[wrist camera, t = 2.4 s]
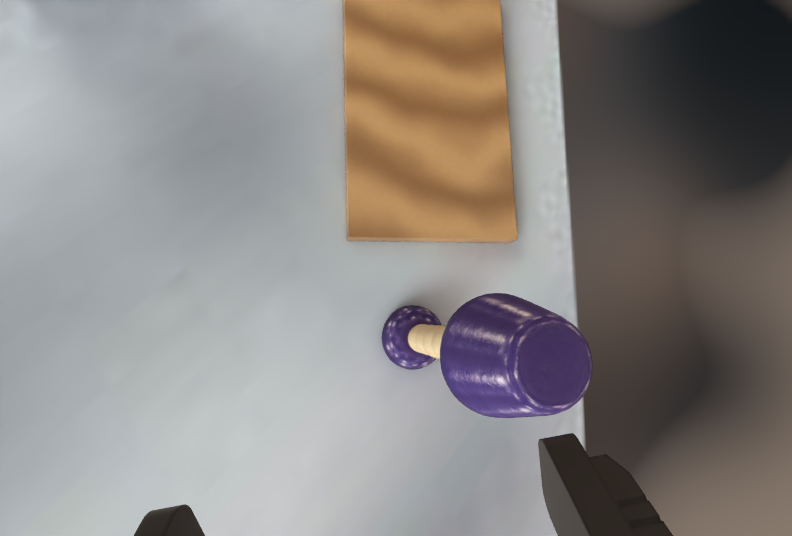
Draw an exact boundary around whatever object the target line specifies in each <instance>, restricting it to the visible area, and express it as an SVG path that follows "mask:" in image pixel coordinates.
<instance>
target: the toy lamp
mask: <svg viewBox="0 0 792 536" xmlns="http://www.w3.org/2000/svg"><path fill="white" fill-rule="evenodd" d="M382 343H383V347H384V350H385V352H386V354H387V356H388V357H389V359H390V360H391V361H392V362H394V363H395V364H396V365H398V366H400V367H403V368H406V369H420V368H423V367H426V366H428V365H429V364H431V363H432V362H433V361H434V360H435V359H436V358H439V359H440V362H441V369H442V373H443V376H444V379H445V381H446V383H447V385H448V387H449V388H450V390H451V392H452V393H453V395H454V396H455V397H456V398H457V399H458V400H459V401H460V402H461V403H462V404H464V405H465V406H466V407H468V408H469V409H471V410H473V411H475V412H477V413H479V414H482V415H485V416H489V417H497V418H516V417H534V416H547V415H554V414H557V413H560V412H562V411H565V410H568V409H569V408H571V407H572V406H573V405H575V404H576V403H577V402H578V401H579V400H580V399H581V398H582V397H583V395H584V394H585V392H586V390H587V388H588V386H589V384H590V380H591V375H592V356H591V351H590V348H589V345H588V343H587V341H586V340H585V338H584V336H583V335H582V334H581V332H580V331H579V330H578V329H577V328H576V327H575V326H574V325H573V324H572V323H570V322H569V321H567V320H566V319H564V318H563V317H561V316H559V315H557V314H555V313H553V312H551V311H549V310H546V309H544V308H542V307H540V306H538V305H536V304H533V303H531V302H529V301H526V300H524V299H522V298H519V297H516V296H513V295H509V294H502V293H493V294H485V295H482V296H479V297H476V298H474V299H472V300H470V301H468V302H466V303H465V304H464V305H462V306H461V307H460V308H459V309H458V310H457V311H456V312H455V313H454V314H453V315H452V317H451V318H450V320H449V321H448V323H447V326H446V327H445V326H442V325H441V323H440V321H439V319H438V318H437V317H436V316H435V315H434V314H433V313H432V312H431V311H429V310H428V309H426V308H424V307H420V306H412V305H411V306H404V307H402V308H400V309H397V310H396V311H395V312H393V313H392V315H391V316H390V317H389V318H388V320H387V321H386V323H385V325H384V328H383V332H382Z"/></svg>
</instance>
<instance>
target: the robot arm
mask: <svg viewBox="0 0 792 536" xmlns="http://www.w3.org/2000/svg"><path fill="white" fill-rule="evenodd" d="M538 445H539V456H540V467H541V477H542V487H543V494H544V498H545V502H546V506H547V509H548V512H549V515H550V518H551V520H552V523H553V525H554V527H555V530H556V532H557V534H558V536H673V535H672V534H671V532H670V531H669V529H668V528H667V526H666V525H665V524H664V522H663V521H661V520H660V517H659V515H658V513H657V512H656V511H655V509H654V507H653V506H652V505H651V503H650V502H649V501H647V499H646V497H645V494H644V493H643V492H642V490H641V489H640V487H639V486H638V484H637V483H636V481H635V480H634V478H633V477H632V475H631V474H630V473H629V472H628V471H627V470H626V469H624V468H623V467H622V466H621V465H619V464H618V463H617V462H615V461H614V460H613V459H611V458H610V457H609V456H608V455H606V454H605V455H599V456H594V457H589V456H588V455H587V453H586V451H585V450H584V448H583V446H582V445H581V443H580V442H579V440H578V438H577V437H576V436H575V435H574V434H573V433H571V434H565V435H560V436H555V437H549V438H544V439H539V442H538ZM134 536H205V535H204V533H203V531H202V529H201V527H200V525H199V523H198V521H197V519H196V517H195V515H194V513H193V512H192V510H191V508H190V507H189V506H188V505H180V506H174V507H169V508H164V509H158V510H153V511H151V512H149V513H148V514H147V515H146V516H145V517H144V519H143V520H142V522H141V524H140V525H139V527H138V529H137V531H136V533H135V534H134Z"/></svg>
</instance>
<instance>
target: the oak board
mask: <svg viewBox="0 0 792 536" xmlns="http://www.w3.org/2000/svg"><path fill="white" fill-rule="evenodd" d="M343 56H344V112H345V169H346V225H347V241H418V242H502V243H510V242H512V241H515V240H517V239H518V238H517V225H516V211H515V197H514V184H513V170H512V156H511V143H510V129H509V115H508V102H507V88H506V74H505V61H504V47H503V33H502V20H501V6H500V0H343Z"/></svg>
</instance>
